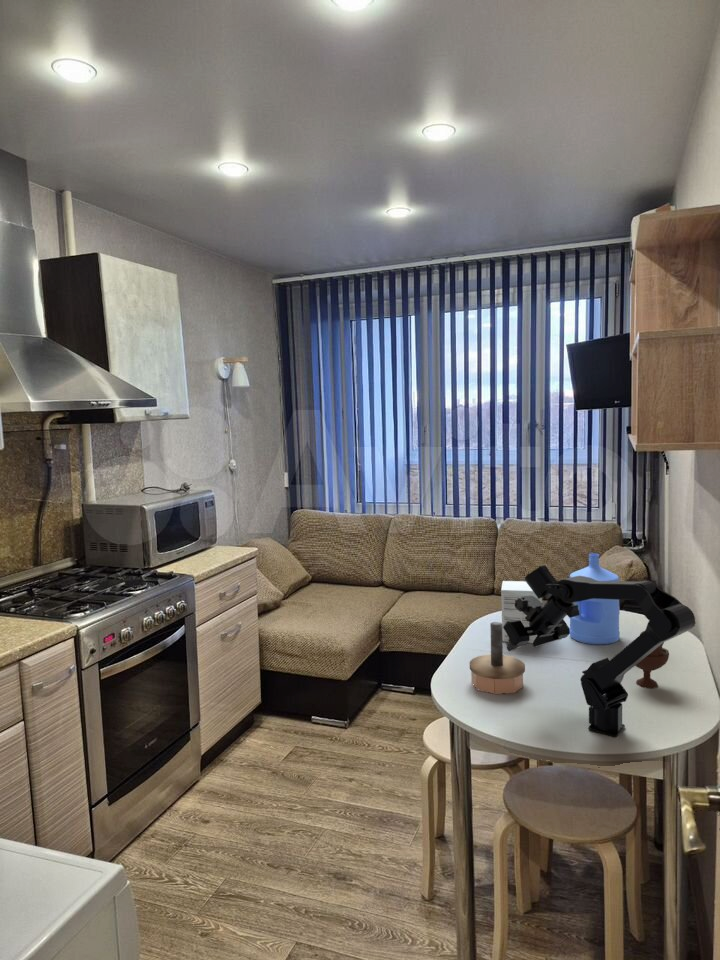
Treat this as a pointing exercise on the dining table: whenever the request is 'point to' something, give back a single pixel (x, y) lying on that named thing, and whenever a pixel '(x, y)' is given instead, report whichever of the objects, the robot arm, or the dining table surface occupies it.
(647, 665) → the ice cream bowl
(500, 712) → the dining table surface
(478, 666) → the walnut lid
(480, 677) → the terracotta bowl
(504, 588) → the supplement box
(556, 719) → the dining table surface
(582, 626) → the water jug
